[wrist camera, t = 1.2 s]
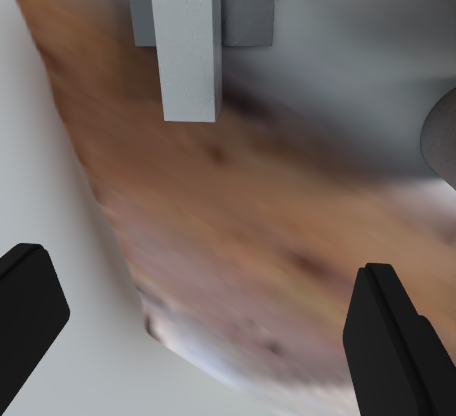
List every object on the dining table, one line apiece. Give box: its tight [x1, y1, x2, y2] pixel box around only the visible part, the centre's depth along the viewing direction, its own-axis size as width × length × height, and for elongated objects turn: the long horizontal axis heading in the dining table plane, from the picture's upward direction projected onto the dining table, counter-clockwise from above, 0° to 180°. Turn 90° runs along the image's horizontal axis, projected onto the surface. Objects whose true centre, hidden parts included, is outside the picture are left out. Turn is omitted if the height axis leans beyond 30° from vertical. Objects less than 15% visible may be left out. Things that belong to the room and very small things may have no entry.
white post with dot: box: [152, 0, 222, 122], centre depth 22 cm, size 4×14×4 cm, turn 0°
